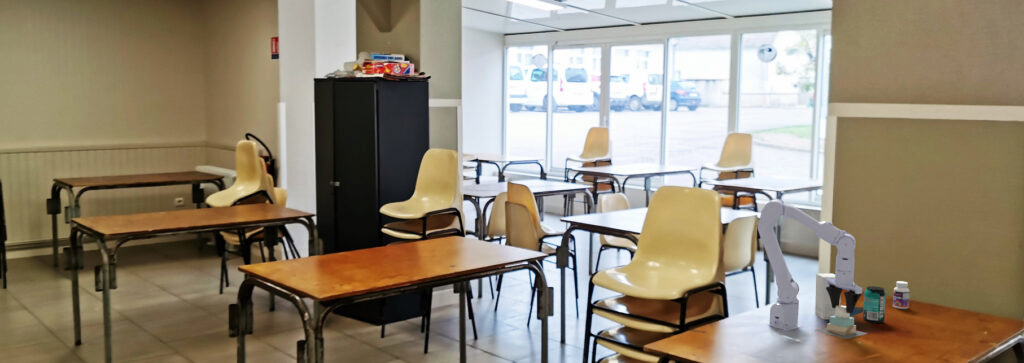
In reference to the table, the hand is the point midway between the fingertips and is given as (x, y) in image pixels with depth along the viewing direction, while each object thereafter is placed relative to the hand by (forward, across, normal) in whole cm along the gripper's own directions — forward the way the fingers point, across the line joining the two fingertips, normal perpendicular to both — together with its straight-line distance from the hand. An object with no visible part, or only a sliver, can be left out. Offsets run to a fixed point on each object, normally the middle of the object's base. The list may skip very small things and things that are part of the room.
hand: (842, 310), depth 276 cm
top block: (+5, 0, 0) cm, 5 cm away
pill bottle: (+8, +22, -48) cm, 53 cm away
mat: (+8, 0, 0) cm, 8 cm away
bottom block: (+7, 0, 0) cm, 7 cm away
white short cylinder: (+2, 0, 0) cm, 2 cm away
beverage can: (+8, +9, -22) cm, 25 cm away
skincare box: (+8, +18, -10) cm, 22 cm away
